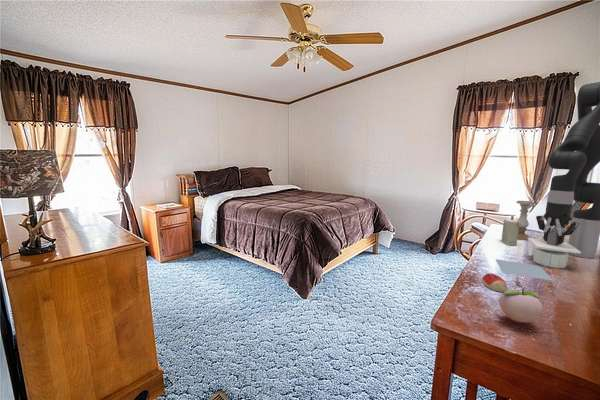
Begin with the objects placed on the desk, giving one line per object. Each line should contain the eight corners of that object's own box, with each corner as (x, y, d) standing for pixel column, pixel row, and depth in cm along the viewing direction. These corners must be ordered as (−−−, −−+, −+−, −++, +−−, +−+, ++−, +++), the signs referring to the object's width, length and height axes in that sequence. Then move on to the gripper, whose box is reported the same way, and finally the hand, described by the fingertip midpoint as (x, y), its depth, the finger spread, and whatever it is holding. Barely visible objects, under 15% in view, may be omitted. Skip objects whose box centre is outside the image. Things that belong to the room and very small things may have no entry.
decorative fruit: (513, 333, 69) (519, 297, 67) (491, 314, 77) (495, 281, 76) (550, 333, 69) (556, 297, 67) (523, 314, 77) (528, 281, 76)
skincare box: (516, 246, 135) (520, 222, 133) (507, 245, 136) (510, 221, 134) (509, 242, 141) (513, 219, 139) (500, 241, 142) (503, 218, 140)
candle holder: (516, 239, 145) (521, 202, 141) (506, 235, 153) (511, 200, 150) (534, 240, 143) (540, 203, 140) (523, 236, 152) (529, 200, 148)
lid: (527, 239, 120) (529, 226, 119) (566, 244, 114) (568, 230, 113) (537, 248, 108) (539, 234, 107) (580, 253, 103) (583, 239, 102)
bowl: (530, 258, 119) (532, 245, 118) (559, 262, 115) (562, 248, 114) (537, 266, 111) (539, 252, 110) (570, 271, 106) (572, 256, 105)
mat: (495, 260, 117) (495, 259, 116) (539, 267, 110) (539, 265, 110) (502, 274, 103) (502, 272, 103) (553, 282, 97) (553, 280, 97)
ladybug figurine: (491, 292, 90) (492, 282, 89) (476, 279, 99) (477, 270, 99) (513, 294, 89) (514, 284, 88) (495, 280, 99) (496, 271, 98)
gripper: (588, 204, 103) (580, 247, 106) (545, 198, 116) (539, 236, 119) (576, 205, 100) (568, 249, 103) (533, 199, 114) (527, 238, 117)
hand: (552, 242), depth 111 cm, fingers closed on lid, 3 cm apart
